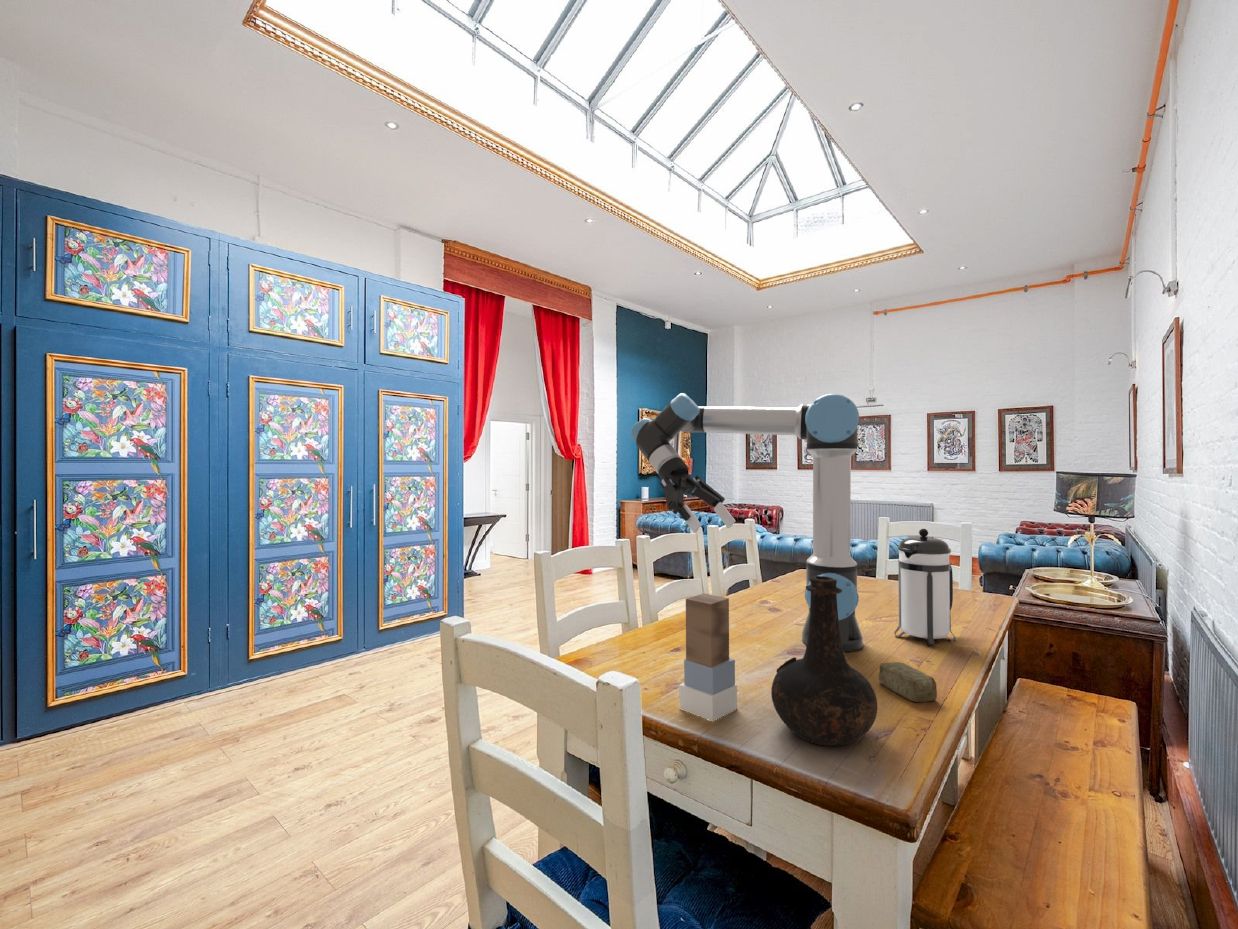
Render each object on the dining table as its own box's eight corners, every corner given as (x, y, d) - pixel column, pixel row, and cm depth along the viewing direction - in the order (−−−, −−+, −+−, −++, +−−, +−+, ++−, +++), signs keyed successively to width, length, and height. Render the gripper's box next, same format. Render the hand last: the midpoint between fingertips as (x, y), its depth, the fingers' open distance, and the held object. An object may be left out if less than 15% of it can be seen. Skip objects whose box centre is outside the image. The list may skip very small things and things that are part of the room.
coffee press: (966, 650, 144) (965, 533, 144) (897, 643, 149) (896, 530, 149) (952, 631, 160) (951, 525, 160) (890, 626, 166) (889, 524, 166)
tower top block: (706, 675, 116) (706, 651, 116) (734, 685, 111) (734, 659, 111) (684, 684, 111) (684, 659, 111) (712, 695, 106) (712, 668, 106)
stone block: (914, 705, 112) (914, 680, 112) (876, 684, 123) (876, 661, 123) (939, 702, 113) (939, 678, 113) (899, 681, 124) (898, 659, 125)
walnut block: (704, 652, 115) (703, 593, 115) (729, 659, 111) (728, 598, 111) (686, 659, 111) (685, 598, 110) (711, 667, 106) (711, 604, 106)
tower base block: (704, 698, 116) (704, 673, 116) (737, 710, 111) (736, 684, 111) (679, 710, 111) (679, 684, 111) (712, 723, 105) (712, 696, 105)
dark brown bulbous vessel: (802, 703, 113) (801, 564, 113) (894, 734, 100) (893, 576, 100) (751, 733, 101) (750, 576, 101) (849, 772, 88) (848, 593, 88)
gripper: (691, 474, 160) (736, 532, 149) (628, 476, 143) (673, 541, 132) (706, 455, 156) (753, 513, 145) (643, 455, 139) (691, 520, 128)
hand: (715, 526), depth 139 cm, fingers open, 13 cm apart
